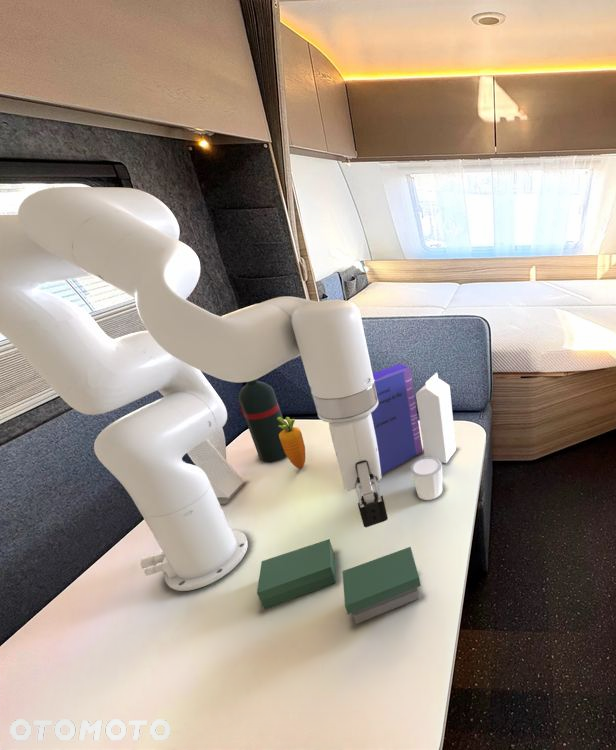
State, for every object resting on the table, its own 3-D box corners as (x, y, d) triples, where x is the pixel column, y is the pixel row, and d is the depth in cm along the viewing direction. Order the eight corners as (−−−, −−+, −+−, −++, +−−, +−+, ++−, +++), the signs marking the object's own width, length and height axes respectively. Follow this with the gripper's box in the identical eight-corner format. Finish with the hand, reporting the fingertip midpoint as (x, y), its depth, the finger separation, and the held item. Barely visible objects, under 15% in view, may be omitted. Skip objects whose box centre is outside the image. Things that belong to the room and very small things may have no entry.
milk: (425, 459, 97) (412, 381, 87) (435, 446, 102) (425, 370, 93) (447, 463, 95) (436, 384, 86) (457, 449, 100) (448, 372, 91)
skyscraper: (220, 479, 93) (175, 374, 81) (253, 479, 92) (212, 373, 80) (194, 504, 85) (139, 392, 73) (229, 504, 85) (180, 392, 73)
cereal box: (412, 445, 103) (398, 362, 92) (422, 452, 100) (410, 367, 89) (350, 477, 92) (327, 388, 81) (360, 486, 88) (338, 394, 78)
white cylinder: (439, 503, 83) (435, 478, 80) (409, 500, 84) (404, 474, 81) (449, 482, 89) (446, 457, 86) (421, 479, 90) (417, 455, 87)
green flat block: (347, 615, 57) (345, 606, 56) (344, 579, 63) (342, 570, 62) (420, 586, 61) (419, 577, 60) (412, 554, 66) (410, 546, 66)
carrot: (316, 466, 96) (300, 414, 90) (297, 478, 92) (280, 424, 86) (304, 460, 98) (288, 409, 92) (285, 471, 95) (268, 419, 88)
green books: (264, 609, 63) (256, 593, 61) (268, 576, 68) (261, 561, 66) (336, 582, 66) (330, 566, 65) (334, 554, 72) (329, 538, 70)
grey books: (355, 624, 60) (350, 607, 58) (353, 599, 64) (348, 583, 62) (419, 598, 63) (416, 582, 62) (413, 576, 67) (410, 560, 65)
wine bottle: (271, 441, 107) (236, 339, 94) (299, 447, 104) (267, 342, 91) (246, 457, 100) (204, 350, 88) (275, 465, 97) (236, 354, 84)
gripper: (314, 379, 55) (340, 473, 63) (315, 440, 41) (349, 553, 48) (368, 368, 58) (387, 460, 65) (387, 422, 44) (409, 532, 51)
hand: (371, 499), depth 57 cm, fingers open, 9 cm apart
